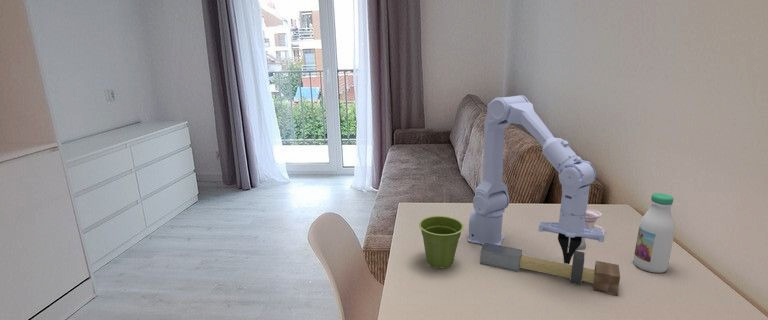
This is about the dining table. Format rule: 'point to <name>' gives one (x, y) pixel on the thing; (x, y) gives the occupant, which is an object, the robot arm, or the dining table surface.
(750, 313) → the dining table surface
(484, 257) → the sleeve
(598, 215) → the teacup
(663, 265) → the milk bottle
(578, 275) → the grey-banded wooden bar
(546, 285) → the dining table surface
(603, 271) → the socket
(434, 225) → the plant pot
